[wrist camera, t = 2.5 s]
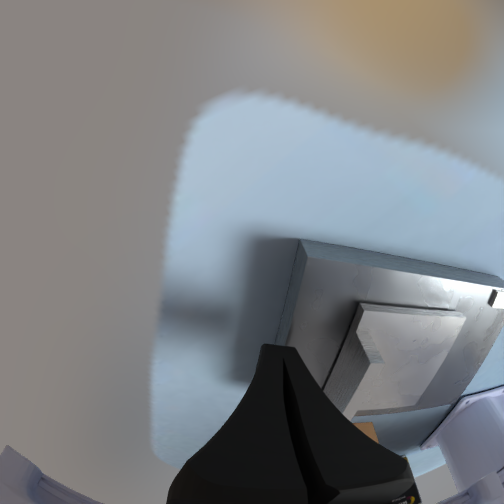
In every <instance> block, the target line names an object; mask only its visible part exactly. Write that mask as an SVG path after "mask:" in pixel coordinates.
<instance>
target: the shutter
mask: <svg viewBox="0 0 504 504" xmlns="http://www.w3.org/2000/svg"><path fill="white" fill-rule="evenodd" d="M465 320H466V317H465V316H464V315H463V314H462V313H461V312H455V311H442V310H429V309H417V308H406V307H395V306H385V305H376V304H366V303H359V306H358V309H357V312H356V314H355V317H354V320H353V322H352V325H351V328H350V330H349V333H348V335H347V338H346V340H345V343H344V345H343V348H342V350H341V352H340V355H339V357H338V359H337V362H336V364H335V366H334V368H333V371H332V373H331V375H330V377H329V379H328V382H327V384H326V386H325V388H324V390H323V392H324V393H325V394H326V396H327V397H328V398H329V399H330V401H331V402H332V403H333V404H334V405H335V406H336V408H337V409H338V410H339V411H340V412H341V413H342V414H343V415H344V416H345V417H346V418H347V419H348V420H349V421H351V419H352V418H353V416H354V415H355V413H356V412H357V410H374V409H386V408H396V407H405V406H413V405H415V404H416V402H417V401H418V399H419V398H420V397H421V395H422V394H423V392H424V391H425V389H426V388H427V386H428V385H429V383H430V382H431V380H432V379H433V377H434V376H435V374H436V373H437V371H438V369H439V368H440V366H441V364H442V363H443V361H444V359H445V358H446V356H447V354H448V352H449V351H450V349H451V347H452V345H453V343H454V341H455V340H456V338H457V336H458V334H459V332H460V330H461V328H462V326H463V324H464V322H465Z"/></svg>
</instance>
